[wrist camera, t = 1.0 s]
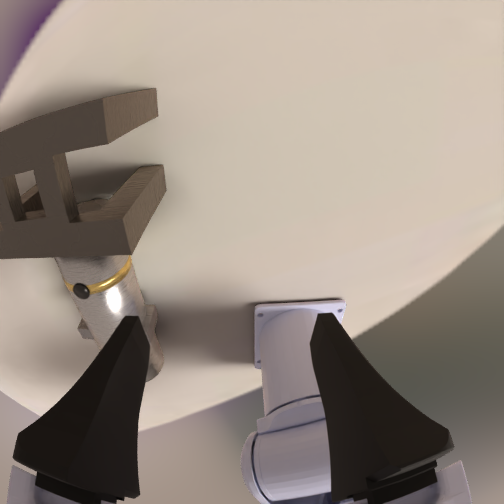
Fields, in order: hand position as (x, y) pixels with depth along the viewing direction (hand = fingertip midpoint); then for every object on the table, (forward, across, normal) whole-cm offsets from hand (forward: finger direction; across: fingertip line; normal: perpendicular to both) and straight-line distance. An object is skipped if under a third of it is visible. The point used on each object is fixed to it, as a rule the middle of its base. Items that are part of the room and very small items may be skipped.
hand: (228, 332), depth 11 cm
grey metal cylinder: (+10, +9, +6) cm, 15 cm away
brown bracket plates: (+10, +10, -5) cm, 15 cm away
